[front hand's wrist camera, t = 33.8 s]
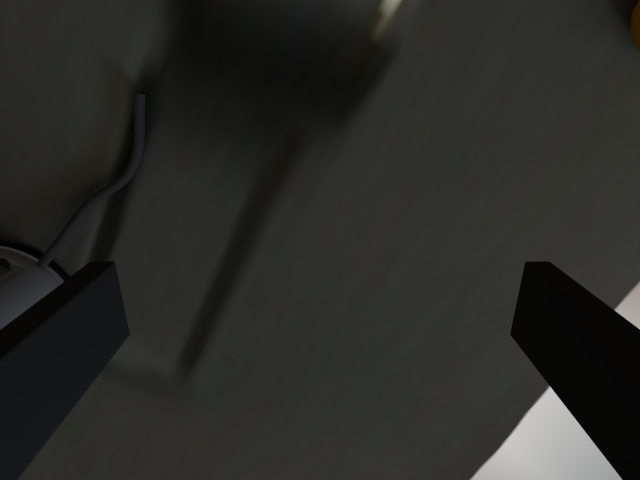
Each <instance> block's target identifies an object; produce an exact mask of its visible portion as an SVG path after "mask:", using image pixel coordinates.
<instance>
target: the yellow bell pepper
mask: <svg viewBox="0 0 640 480" xmlns="http://www.w3.org/2000/svg"><path fill="white" fill-rule="evenodd" d="M630 35H631V37H632V40H633V42H634V44H635V46H636V48H637V51H638V52H639V54H640V0H638V2H637V4H636V6H635V8H634V10H633V12H632V14H631V27H630Z"/></svg>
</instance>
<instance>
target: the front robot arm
mask: <svg viewBox="0 0 640 480" xmlns="http://www.w3.org/2000/svg"><path fill="white" fill-rule="evenodd" d="M145 96H146V94H144V93H141V92H134V144H133V150H132V154H131V157H130V160H129V162H128V165H127V166H126V168H125V170H124V171H123V173H122V174H121V175H120V176H119V177H118V178H117V179H115V180H114V181H113V182H111V183H110V184H108V185H107V186H105V187H103V188H102V189H100V190H99V191H97V192H96V193H94V194H93V195H92V196H91V197H89V198H88V199H87V200H86V201H85V202H84V203H83V204H82V205H81V206H80V208H79V209H78V210H77V211H76V212H75V214H74V215H73V216H72V218H71V219H70V220H69V222H68V223H67V225H66V226H65V227H64V229H63V230H62V231H61V233H60V234H59V235H58V237H57V238H56V239H55V240H54V242H53V243H52V244H51V246H50V247H49V248H48V249H47V251H46V252H45V253H44V255H41V254H40V253H38V252H36V251H34V250H31V249H29V248H26V247H24V246H21V245H17V244H13V243H8V242H0V480H18V478H19V477H20V476H21V474H22V473H23V472H24V471H25V469H26V468H27V467H28V465H29V464H30V463H31V461H32V460H33V459H34V458H35V456H36V455H37V454H38V452H39V451H40V450H41V449H42V447H43V446H44V445H45V443H46V442H47V441H48V440H49V438H50V437H51V436H52V434H53V433H54V432H55V430H56V429H57V428H58V427H59V425H60V424H61V423H62V421H63V420H64V419H65V418H66V416H67V415H68V414H69V412H70V411H71V410H72V409H73V407H74V406H75V405H76V403H77V402H78V401H79V399H80V398H81V397H82V396H83V394H84V393H85V392H86V390H87V389H88V388H89V387H90V385H91V384H92V383H93V381H94V380H95V379H96V378H97V376H98V375H99V374H100V372H101V371H102V370H103V368H104V367H105V366H106V365H107V363H108V362H109V361H110V359H111V358H112V357H113V356H114V354H115V353H116V352H117V350H118V349H119V348H120V347H121V345H122V344H123V343H124V341H125V340H126V339H127V337H128V336H129V335H130V333H129V328H128V324H127V319H126V314H125V309H124V304H123V300H122V295H121V290H120V285H119V280H118V276H117V271H116V266H115V262H89V263H88V264H87V265H85V266H84V267H83V268H81V269H80V270H79V271H77V272H76V273H75V274H74V275H72V276H71V277H70V278H69V276H68V275H67V274H66V273H65V272H64V271H63V270H62V269H61V268H60V267H59V266H57V265H56V264H55V263H54V262H52V259H53V258H54V257H55V256H56V254H57V253H58V252H59V251H60V249H61V248H62V247H63V245H64V244H65V243H66V242H67V240H68V239H69V238H70V237H71V235H72V234H73V233H74V231H75V230H76V228H77V227H78V226H79V224H80V223H81V222H82V220H83V219H84V218H85V217H86V215H87V214H88V213H89V212H90V211H91V210H92V209H93V208H94V207H95V206H96V205H97V204H98V203H99V202H100V201H102V200H103V199H104V198H106V197H107V196H109V195H111V194H112V193H114V192H116V191H117V190H119V189H120V188H122V187H123V186H124V185H125V184H126V183H128V182H129V180H130V179H131V178H132V177H133V176H134V174H135V172H136V171H137V169H138V167H139V164H140V162H141V159H142V155H143V151H144V143H145ZM510 335H511V336H512V337H513V339H514V340H515V341H516V343H517V344H518V345H519V347H520V348H521V349H522V350H523V352H524V353H525V354H526V356H527V357H528V358H529V359H530V361H531V362H532V363H533V365H534V366H535V367H536V368H537V370H538V371H539V372H540V374H541V375H542V376H543V378H544V379H545V380H546V381H547V383H548V384H549V385H550V387H551V388H552V389H553V390H554V392H555V393H556V394H557V396H558V397H559V398H560V399H561V401H562V402H563V403H564V405H565V406H566V407H567V409H568V410H569V411H570V412H571V414H572V415H573V416H574V418H575V419H576V420H577V421H578V423H579V424H580V425H581V427H582V428H583V429H584V430H585V432H586V433H587V434H588V436H589V437H590V438H591V440H592V441H593V442H594V443H595V445H596V446H597V447H598V449H599V450H600V451H601V452H602V454H603V455H604V456H605V458H606V459H607V460H608V461H609V463H610V464H611V465H612V467H613V468H614V469H615V471H616V472H617V473H618V474H619V476H620V477H621V478H622V480H640V330H639V329H638V328H637V327H636V326H634V325H633V324H632V323H630V322H629V321H628V320H626V319H625V318H624V317H622V316H621V315H620V314H618V313H617V312H616V311H614V310H613V309H612V308H610V307H609V306H608V305H606V304H605V303H604V302H602V301H601V300H600V299H598V298H597V297H596V296H594V295H593V294H592V293H590V292H589V291H588V290H586V289H585V288H584V287H582V286H581V285H580V284H578V283H577V282H576V281H574V280H573V279H572V278H570V277H569V276H568V275H566V274H565V273H564V272H563V271H561V270H560V269H559V268H557V267H556V266H555V265H553V264H552V263H551V262H525V266H524V271H523V276H522V280H521V285H520V290H519V295H518V300H517V304H516V309H515V314H514V319H513V324H512V328H511V333H510Z"/></svg>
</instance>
